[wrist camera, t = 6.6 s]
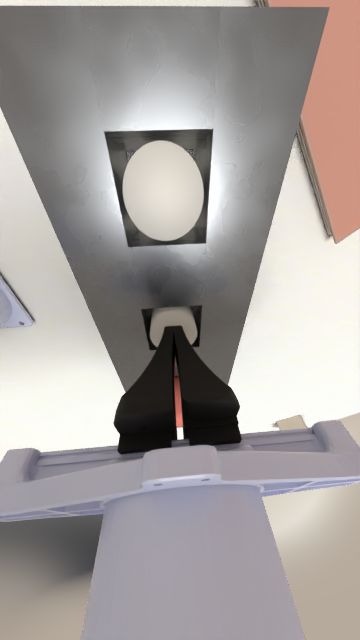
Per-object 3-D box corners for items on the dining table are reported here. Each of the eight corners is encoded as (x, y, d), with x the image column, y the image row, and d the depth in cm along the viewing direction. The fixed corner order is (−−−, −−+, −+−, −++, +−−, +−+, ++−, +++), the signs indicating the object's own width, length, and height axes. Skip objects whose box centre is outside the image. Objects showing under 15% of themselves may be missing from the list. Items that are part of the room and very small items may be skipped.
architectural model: (300, 417, 43) (322, 453, 37) (273, 424, 45) (289, 460, 39) (298, 412, 41) (321, 450, 35) (270, 420, 43) (286, 457, 37)
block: (138, 378, 27) (134, 411, 23) (44, 82, 9) (-45, 5, 5) (214, 372, 27) (222, 403, 23) (262, 79, 10) (329, 7, 6)
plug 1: (141, 225, 13) (131, 242, 9) (131, 157, 11) (112, 141, 7) (190, 223, 13) (201, 239, 9) (191, 155, 11) (206, 139, 7)
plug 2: (155, 317, 19) (153, 352, 15) (150, 286, 16) (146, 318, 12) (189, 315, 19) (196, 349, 15) (190, 284, 16) (197, 314, 13)
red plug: (162, 385, 22) (162, 428, 18) (159, 368, 20) (158, 413, 16) (191, 383, 22) (197, 425, 18) (192, 365, 20) (199, 409, 16)
